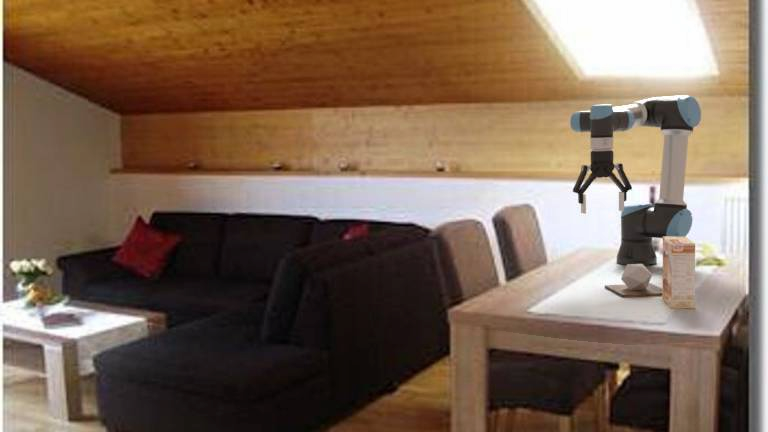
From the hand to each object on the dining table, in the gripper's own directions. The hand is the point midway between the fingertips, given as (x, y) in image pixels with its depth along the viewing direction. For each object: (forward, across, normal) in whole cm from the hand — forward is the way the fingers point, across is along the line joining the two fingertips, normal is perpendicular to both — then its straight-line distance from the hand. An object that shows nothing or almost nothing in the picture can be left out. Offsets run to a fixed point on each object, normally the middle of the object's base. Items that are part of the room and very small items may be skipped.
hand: (602, 212), depth 277 cm
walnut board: (+24, +4, -18) cm, 30 cm away
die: (+24, +4, -17) cm, 30 cm away
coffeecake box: (+24, +9, -37) cm, 45 cm away
